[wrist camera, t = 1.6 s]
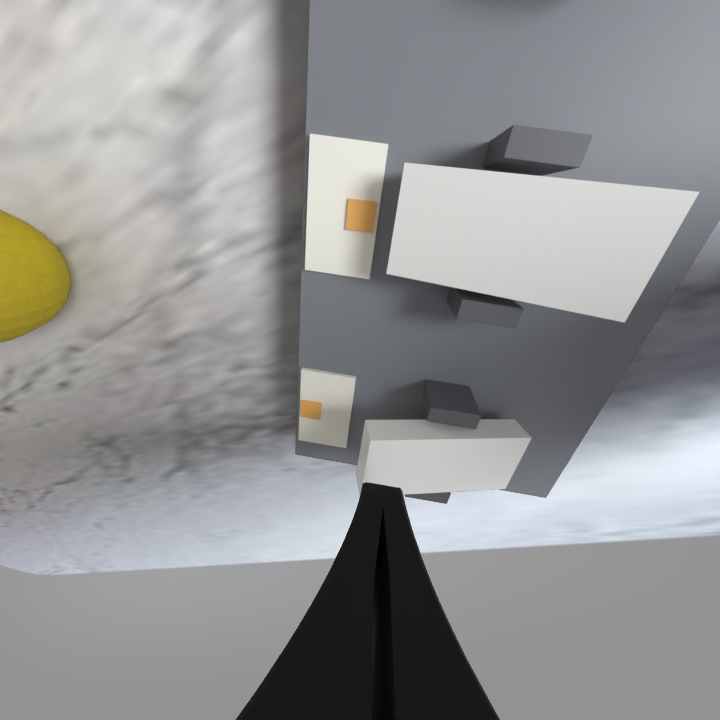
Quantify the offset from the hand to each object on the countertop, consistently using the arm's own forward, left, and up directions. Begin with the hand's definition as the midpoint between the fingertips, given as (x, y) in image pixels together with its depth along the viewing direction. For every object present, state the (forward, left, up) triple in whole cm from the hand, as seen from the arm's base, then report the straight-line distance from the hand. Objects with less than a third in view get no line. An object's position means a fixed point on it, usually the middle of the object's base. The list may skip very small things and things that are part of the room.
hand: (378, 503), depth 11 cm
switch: (-3, 0, -3) cm, 4 cm away
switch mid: (-3, -9, -3) cm, 10 cm away
